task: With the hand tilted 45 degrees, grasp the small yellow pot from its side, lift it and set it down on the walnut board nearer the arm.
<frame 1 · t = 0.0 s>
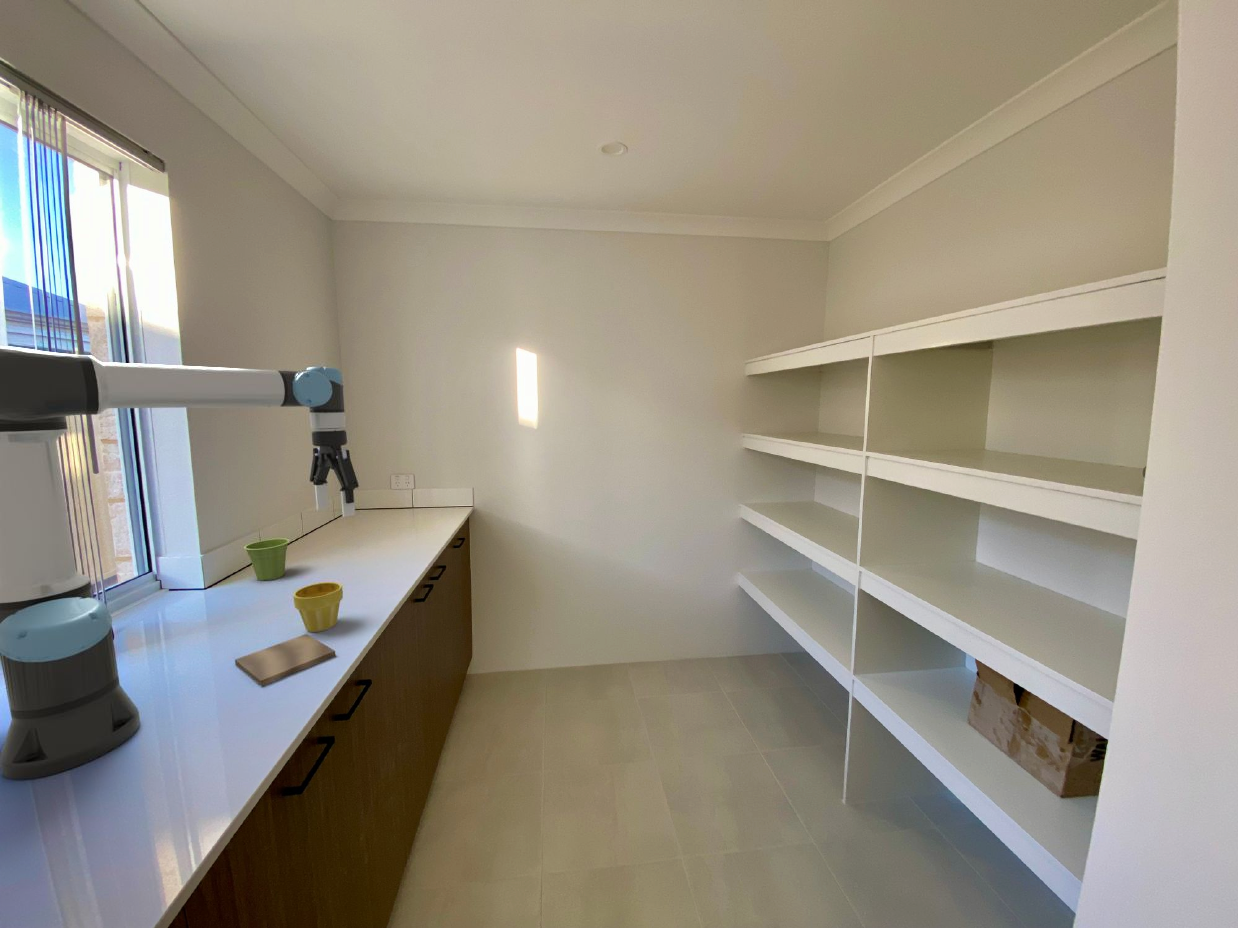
hand: (335, 512, 123), 28 cm above the worktop, tool pointing down, fingers open, 13 cm apart
plant pot: (321, 626, 121), on the worktop
plant pot 2: (270, 577, 155), on the worktop
walnut board: (286, 660, 105), on the worktop
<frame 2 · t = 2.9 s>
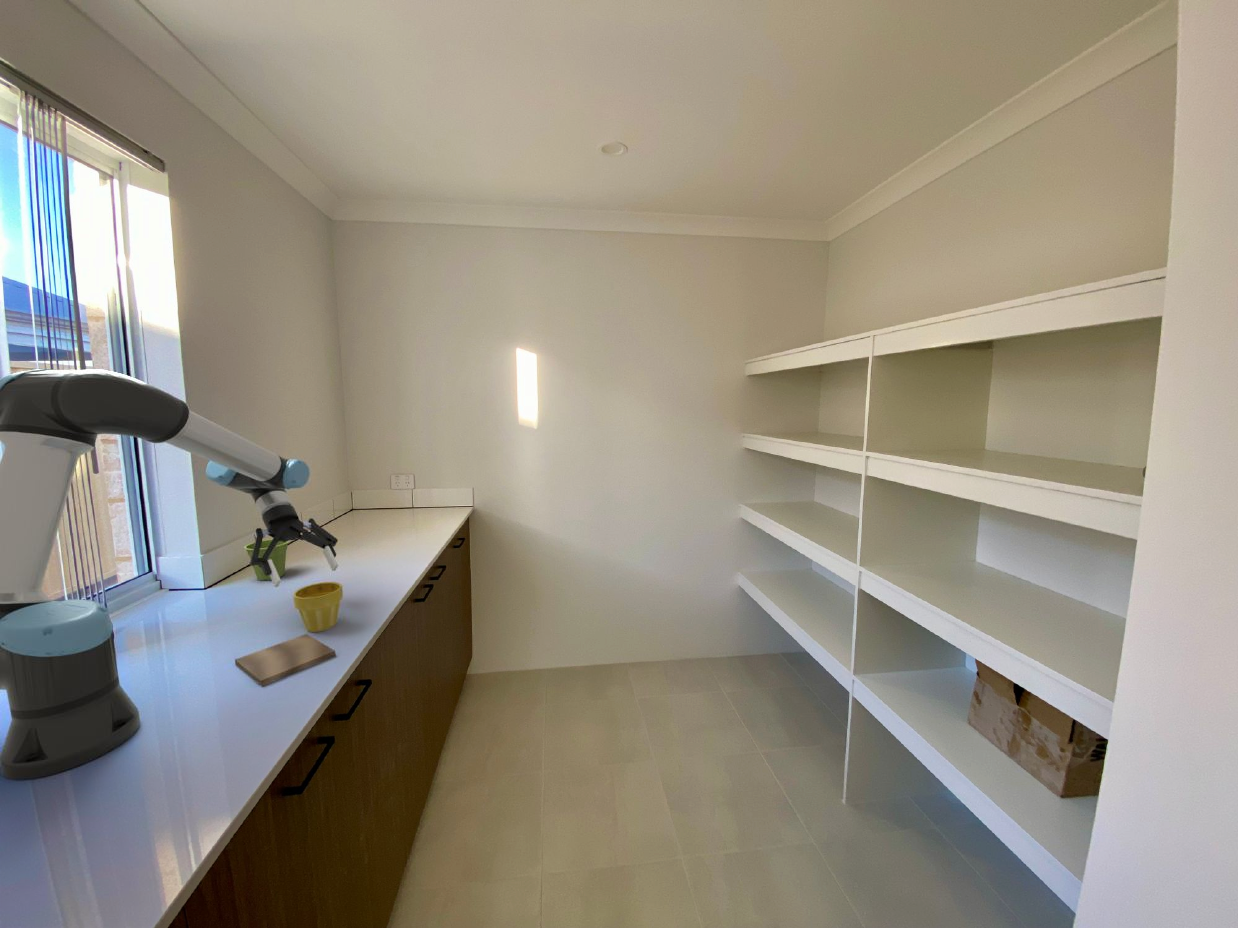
hand: (308, 575, 124), 11 cm above the worktop, tool tilted 45°, fingers open, 13 cm apart
nothing on the worktop moved.
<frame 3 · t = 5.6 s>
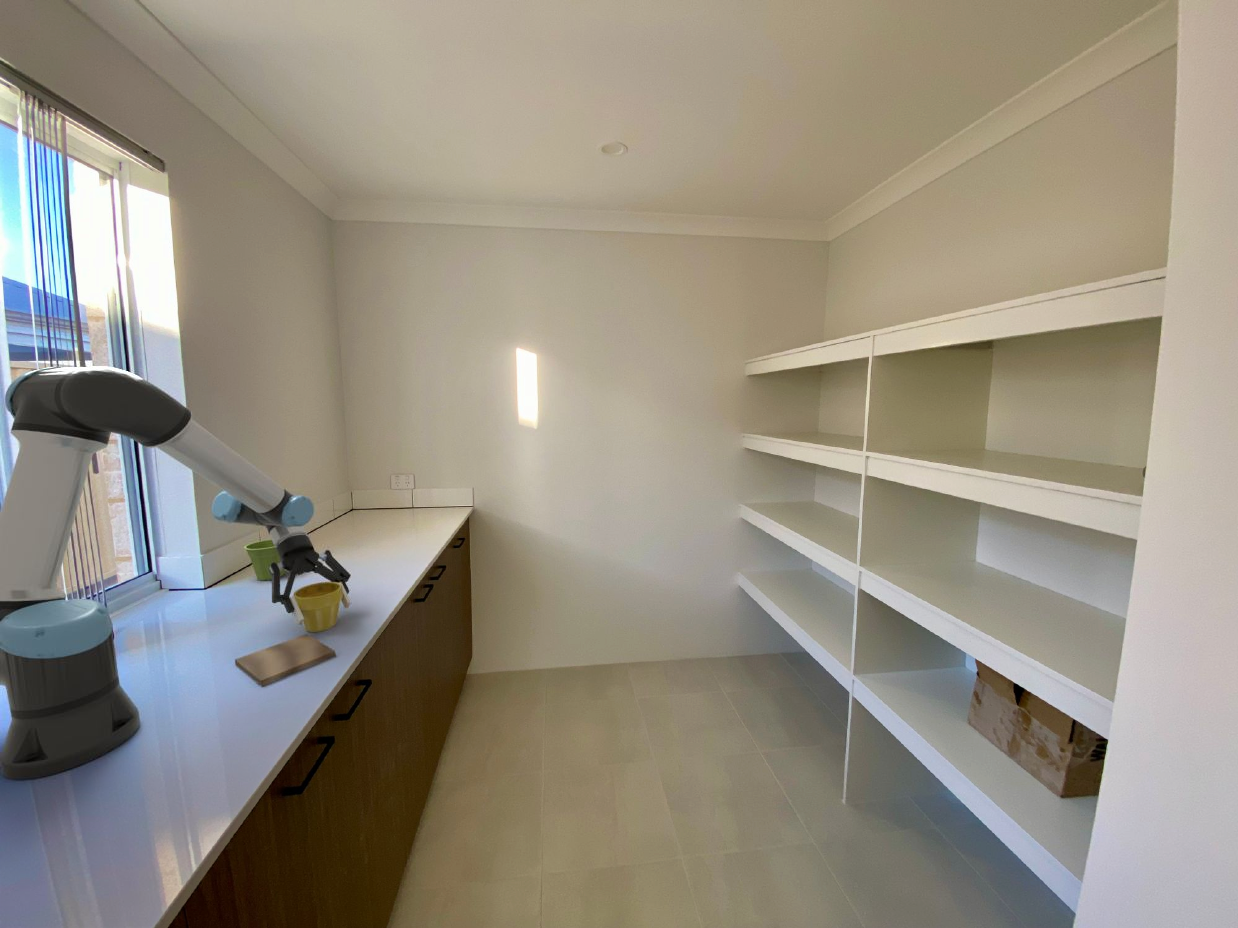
hand: (325, 613, 119), 4 cm above the worktop, tool tilted 45°, fingers closed on plant pot, 10 cm apart
plant pot: (321, 626, 121), on the worktop, touching gripper
everything else where it was.
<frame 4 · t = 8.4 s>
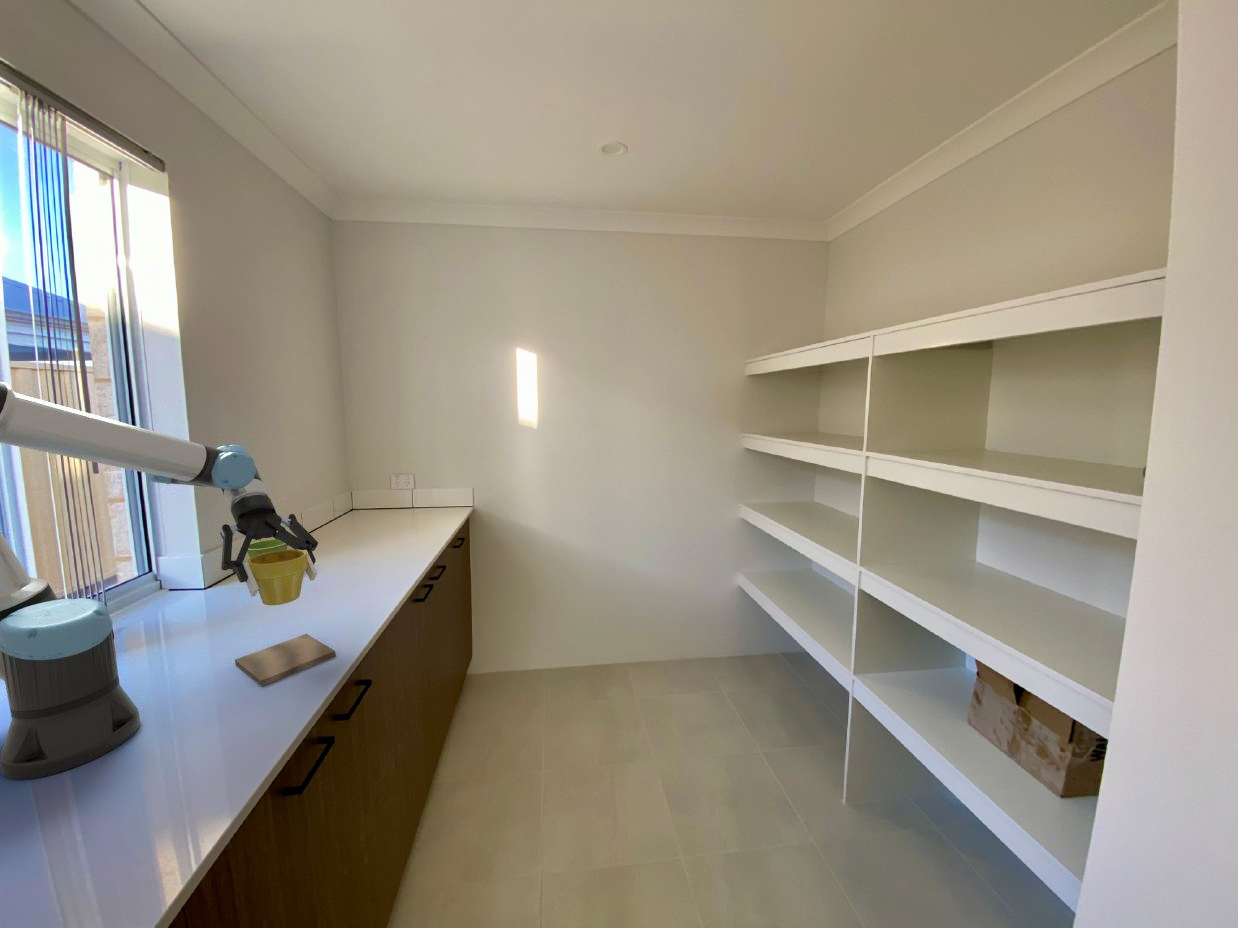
hand: (286, 584, 102), 18 cm above the worktop, tool tilted 45°, fingers closed on plant pot, 10 cm apart
plant pot: (281, 600, 104), point 13 cm above the worktop, touching gripper
everything else where it was.
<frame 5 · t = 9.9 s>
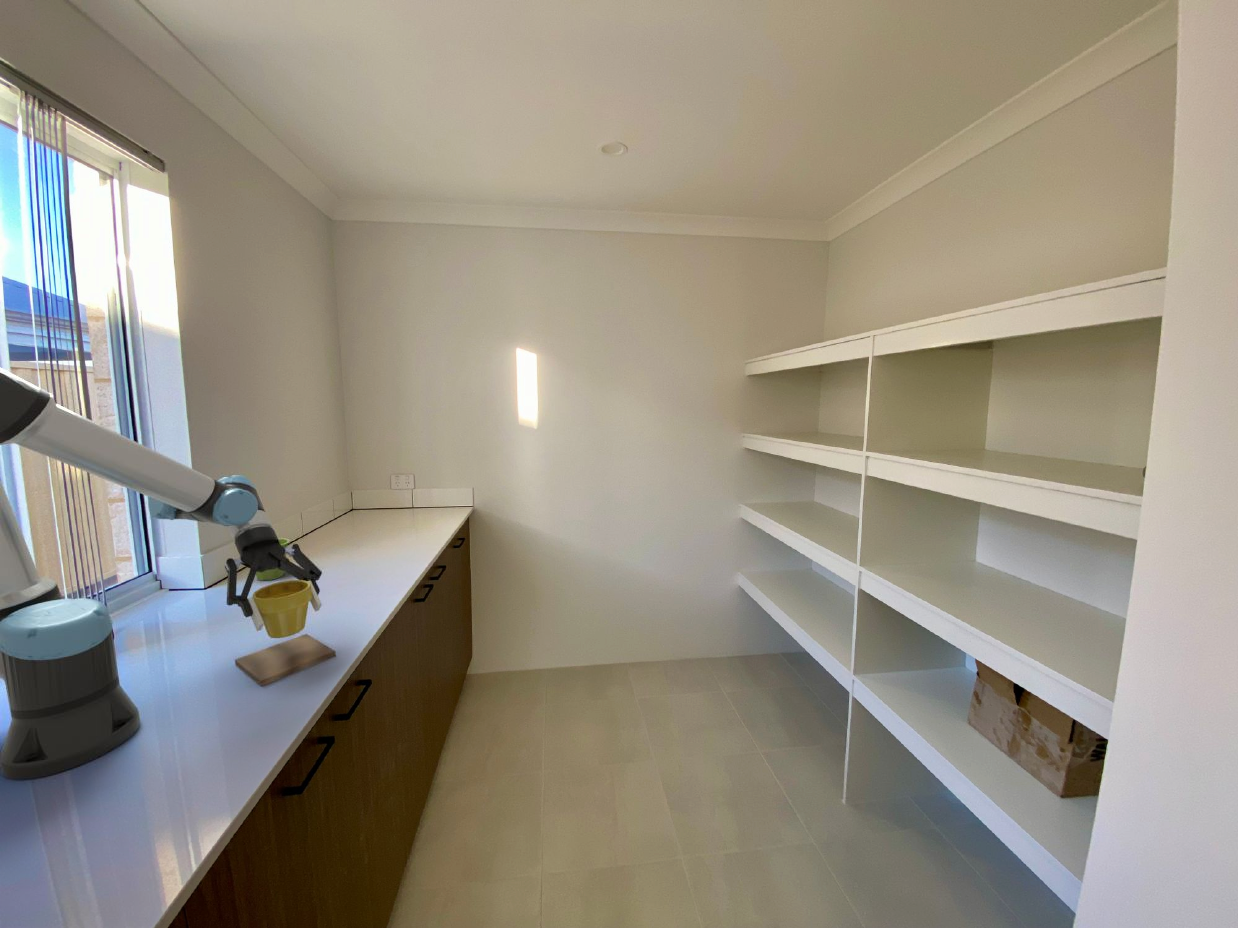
hand: (290, 617, 103), 10 cm above the worktop, tool tilted 45°, fingers closed on plant pot, 10 cm apart
plant pot: (286, 632, 105), point 6 cm above the worktop, touching gripper
everything else where it was.
when the fingers open (6 cm above the worktop, at t = 11.2 s): plant pot drops 1 cm, resting on walnut board.
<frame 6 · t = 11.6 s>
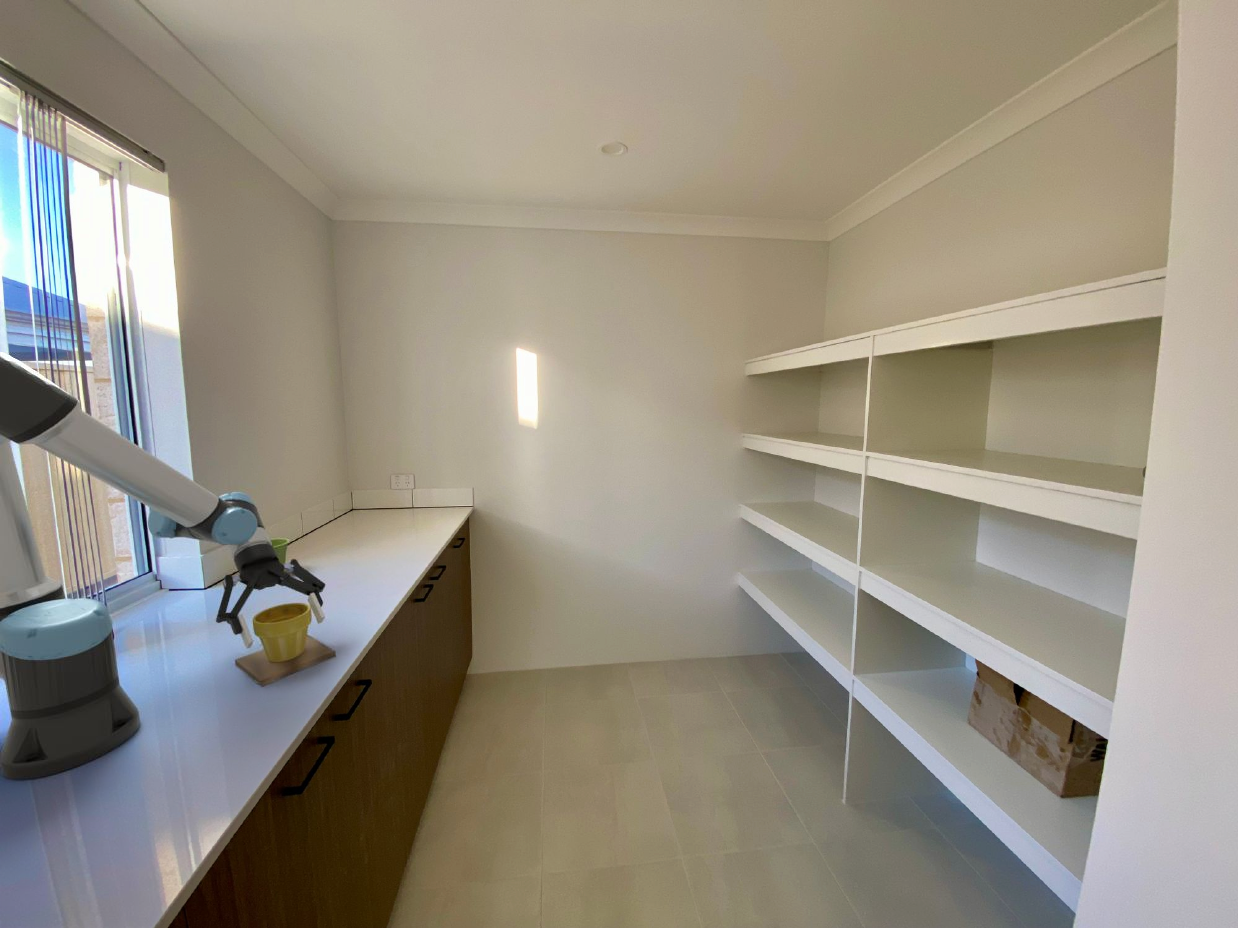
hand: (287, 632, 103), 7 cm above the worktop, tool tilted 45°, fingers open, 13 cm apart
plant pot: (286, 655, 105), point 1 cm above the worktop, touching walnut board
everything else where it was.
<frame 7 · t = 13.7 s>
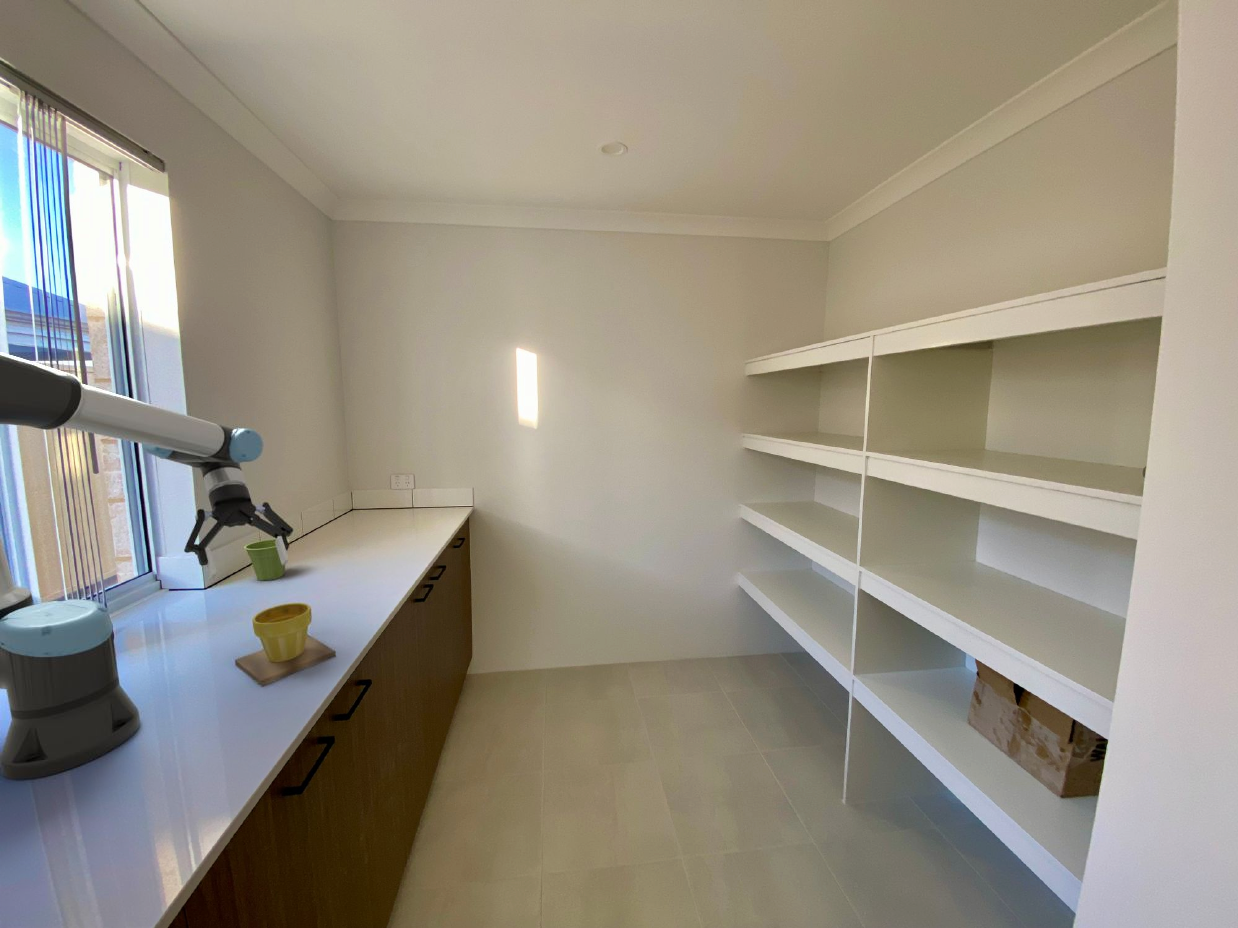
hand: (251, 569, 109), 18 cm above the worktop, tool tilted 40°, fingers open, 13 cm apart
nothing on the worktop moved.
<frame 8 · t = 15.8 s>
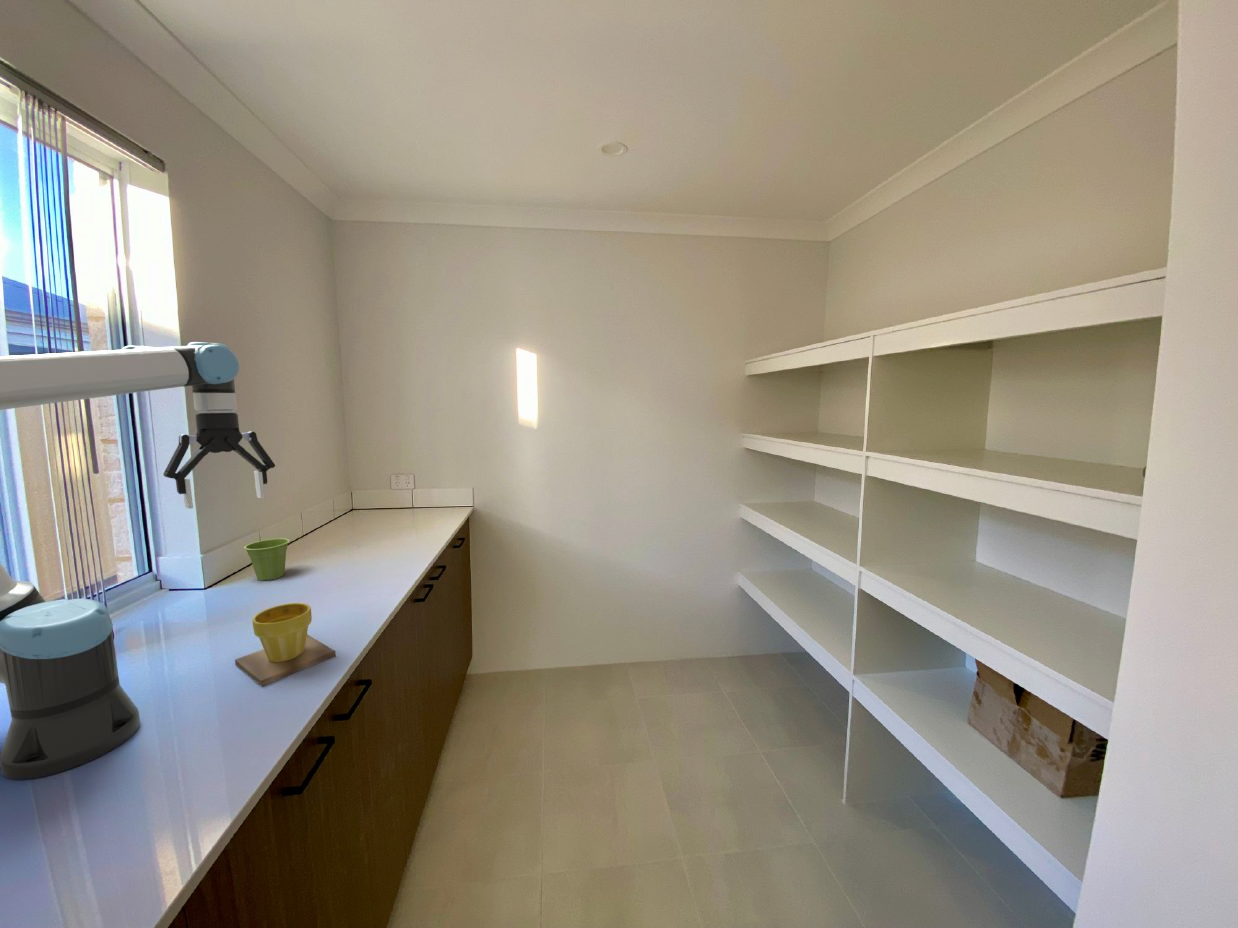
hand: (226, 502, 113), 33 cm above the worktop, tool pointing down, fingers open, 13 cm apart
nothing on the worktop moved.
at the end: plant pot inside the target area on the walnut board (0.2 cm from its centre), point 1.0 cm above the walnut board's base; plant pot tilted 0°; the gripper is holding nothing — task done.
